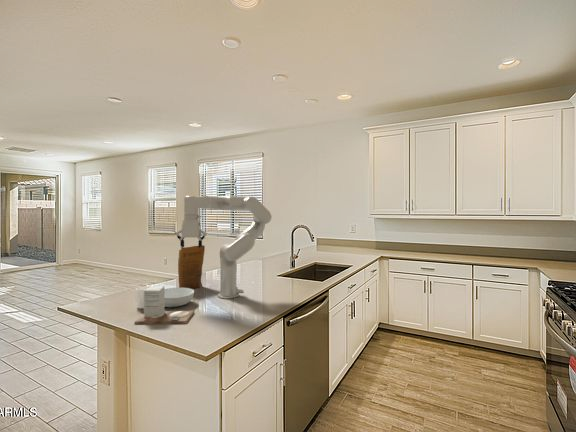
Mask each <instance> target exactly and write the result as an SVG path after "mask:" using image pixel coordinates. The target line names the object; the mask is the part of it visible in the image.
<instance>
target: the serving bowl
mask: <svg viewBox="0 0 576 432" xmlns="http://www.w3.org/2000/svg"><path fill="white" fill-rule="evenodd" d="M194 295H195V290H194V289H189V288H179V287H170V288H169V287H168V288H164V298H165V308H177V307H181V306H184V305H186V304H188V303H190V302H191V301H192V299H194Z"/></svg>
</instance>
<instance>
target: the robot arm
mask: <svg viewBox="0 0 576 432" xmlns="http://www.w3.org/2000/svg"><path fill="white" fill-rule="evenodd" d="M183 199H184V202H183V204H184V207H183V209H184V211H183V214H184V219H183V220H182V225H181V229H180V230H178V231H176V232H175V235H176V238H177V239H179V242H180V249H181V248H185V240H184V239H185V238H197V239H198V241H197V242H198V245H197V246H198V247H199V248H200V247H201V246H202V245H203V240H204V239H205V238H206V237H207V232H206V231H204V230H202V226H201V225H202V224H201V220H200V219H201V217H202V216H201V215H199V209H203V210H222V211H240V212H241V211H244V212H245V211H246V212H247V211H248V212H250V213H251V214H252V215H253V216H252V218H253V219H252V220H253V221H252V223H251V225H250V226H249V227H246V229H244V230H243V231H242V232H241V233H239V234H238V235H237V236H235V238H234V240H235V241H234V242H233V243H224V244H223V245H221V247H220V249H219V260H220V261H219V263H220V270H219V271H220V274H219V275H220V277H219V279H220V291H219V293H218V294H217V298H220V299H224V300H225V299H228V300H229V299H234V298H235V299H236V298H238V297H239V296H240V294H244V293H245V292H244V290H245V289H243V288H240V289H239V288H238V286H237V273H238V271H237V267H238V265H237V261H238V260H239V259H240V258H242V257H243V256H244V255H246V254H247V253H249V251H252V249H253V247H254V246H255V244H256V240H257V239H258V238H259V237H260V236H261V235H262V234H263V233H264V231H265V227H266V225H267V224H269V223H270V222H271V220H272V213H271V212H270V211H269V210H268V208H266V207H265V205H263V203H262V202H261V201H259V199H257V198H256V197H255V196H237V195H236V196H232V195H227V196H226V195H225V196H209V195H199V196H196V195H186V196H185V197H184V198H183ZM180 234H181V235H180ZM202 234H203V235H202Z"/></svg>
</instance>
